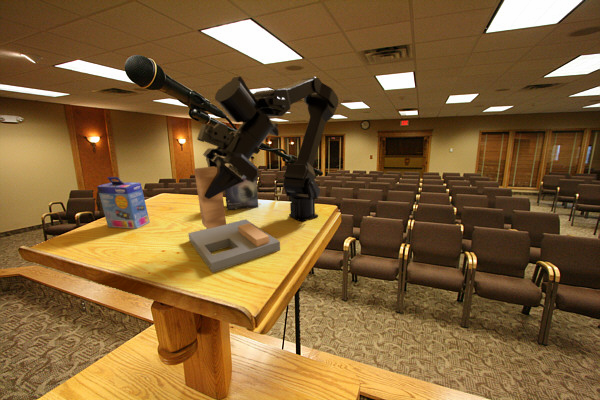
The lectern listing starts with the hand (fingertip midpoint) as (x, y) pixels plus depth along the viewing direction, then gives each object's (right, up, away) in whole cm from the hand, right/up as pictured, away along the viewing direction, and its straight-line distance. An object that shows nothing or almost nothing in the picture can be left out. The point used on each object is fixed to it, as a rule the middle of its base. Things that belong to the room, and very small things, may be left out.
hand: (203, 195), depth 54 cm
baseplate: (+4, -11, +7) cm, 14 cm away
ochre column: (+1, -6, +3) cm, 7 cm away
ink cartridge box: (-30, -8, +22) cm, 38 cm away
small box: (0, -3, +36) cm, 36 cm away
